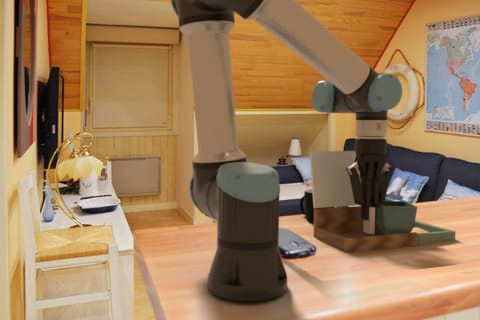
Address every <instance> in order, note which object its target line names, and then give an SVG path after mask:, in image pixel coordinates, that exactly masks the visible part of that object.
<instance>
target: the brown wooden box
mask: <svg viewBox="0 0 480 320" xmlns="http://www.w3.org/2000/svg"><path fill="white" fill-rule="evenodd" d="M361 214H362V207H361V206H360V205H356V206H349V207H335V208H320V209H314V223H313V238H315V239H316V240H318V241H320V242H322V243H325V244H326V245H328V246H331V247H332V248H336V249H338V250H339V251H342V252H345V253H347V254H348V253H355V252H357V253H358V252H366V251H377V250H385V249H395V248H405V247H407V248H408V247H415V246H419V245H418V233H419V232H415V231H414V232H411V233H401V234H390V235H382V234H379V235H371V236H370V235H369V236H360V237H349V238H348V237H346V236H344V235H350V234H355V233H356V234H357V233H364V232H363V227H364V220H363V219H362V217H361ZM374 231H379V230H378V228H377V225H376V222H375V229H374Z"/></svg>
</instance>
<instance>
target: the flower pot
mask: <svg viewBox="0 0 480 320" xmlns="http://www.w3.org/2000/svg"><path fill="white" fill-rule="evenodd" d="M417 211H418V206H417V205H414V204H413V203H411V202H408V201H406V200H397V201H396V200H385V202H384V204H380V207H379V208H378V207H377V219H375V222H376V225H377V228H378V230H377V231H378V232H379V233H380V234H379V235H390V234H401V233H412V231H413V229H414V227H415V226H414V223H415V221H416V217H417Z"/></svg>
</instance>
